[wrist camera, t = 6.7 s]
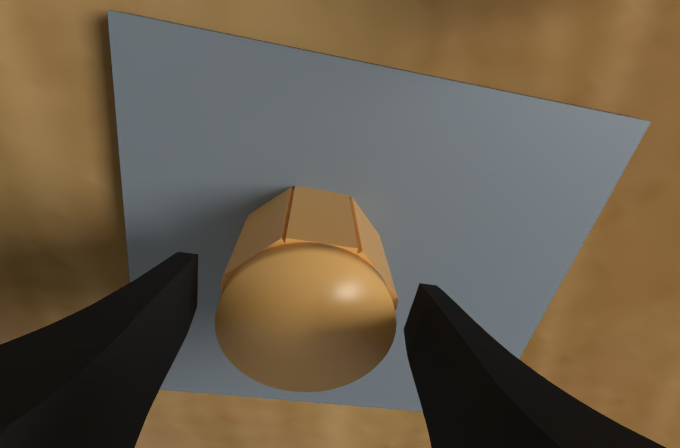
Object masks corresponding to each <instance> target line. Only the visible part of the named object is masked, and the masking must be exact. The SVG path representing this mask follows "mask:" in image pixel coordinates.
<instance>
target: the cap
mask: <svg viewBox="0 0 680 448" xmlns="http://www.w3.org/2000/svg"><path fill="white" fill-rule="evenodd" d="M398 302H399V301H398V296H397V293H396V289H395V286H394V282H393V279H392V276H391V272H390V269H389V266H388V262H387V259H386V256H385V252H384V249H383V246H382V242H381V239H380V236H379V234H378V233H377V231H376V230H375V228H374V227H373V226H372V224H371V223H370V221H369V220H368V219H367V217H366V216H365V214H364V213H363V212H362V210H361V209H360V207H359V206H358V205H357V203H356V202H355V200H354V199H353V198H352V197H350V198H349V195H348V194H342V193H336V192H330V191H324V190H318V189H312V188H306V187H300V186H295V189H293V188H292V187H290V188H288V189H287V190H285V191H284V192H282V193H281V194H279V195H278V196H276V197H275V198H273V199H272V200H270V201H269V202H267V203H266V204H264V205H263V206H261V207H260V208H258V209H257V210H255V211H254V212H252V213H251V214H249V215H248V218H247V219H246V221H245V223H244V226H243V228H242V231H241V233H240V235H239V238H238V240H237V243H236V245H235V248H234V250H233V252H232V255H231V257H230V260H229V262H228V264H227V267H226V269H225V272H224V274H223V276H222V281H221V297H220V300H219V303H218V306H217V309H216V314H215V332H216V337H217V340H218V343H219V346H220V348H221V349H222V351H223V353H224V355H225V356H226V357H227V359H228V360H229V361H230V362H231V363H232V364H233V365H234V366H235V367H236V368H237V369H238V370H239V371H241V372H242V373H243V374H245V375H246V376H248V377H249V378H251V379H253V380H255V381H257V382H259V383H261V384H263V385H266V386H269V387H272V388H276V389H280V390H285V391H292V392H319V391H326V390H331V389H335V388H339V387H342V386H345V385H347V384H350V383H352V382H354V381H356V380H358V379H360V378H362V377H363V376H365V375H366V374H368V373H369V372H370V371H372V370H373V369H374V368H375V367H376V366H377V365H378V364H379V363H380V362H381V361H382V360H383V359H384V357H385V356H386V355H387V353H388V351H389V350H390V348H391V346H392V343H393V341H394V337H395V334H396V325H397V321H396V312H395V311H396V308H397V305H398Z"/></svg>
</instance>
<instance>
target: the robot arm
mask: <svg viewBox="0 0 680 448" xmlns="http://www.w3.org/2000/svg"><path fill="white" fill-rule="evenodd" d="M197 297H198V254H192V253H185V252H177V253H175V254H173V255H172V256H170V257H169V258H167V259H166V260H164V261H163V262H161V263H160V264H158V265H157V266H155V267H154V268H152V269H151V270H149V271H148V272H146V273H145V274H143V275H141V276H140V277H138V278H137V279H135V280H134V281H132V282H131V283H129V284H127V285H126V286H124V287H122V288H120V289H119V290H117V291H115V292H113V293H112V294H110V295H108V296H106V297H105V298H103V299H101V300H99V301H98V302H96V303H94V304H92V305H90V306H88V307H86V308H84V309H82V310H80V311H79V312H76V313H74V314H72V315H70V316H68V317H66V318H64V319H62V320H59V321H57V322H55V323H53V324H51V325H48V326H46V327H43V328H41V329H38V330H36V331H34V332H31V333H29V334H26V335H24V336H21V337H19V338H16V339H14V340H11V341H9V342H6V343H4V344H1V345H0V448H134V447H135V445H136V442H137V439H138V437H139V434H140V432H141V429H142V427H143V424H144V422H145V419H146V417H147V414H148V412H149V410H150V408H151V406H152V403H153V401H154V399H155V397H156V395H157V393H158V391H159V389H160V387H161V385H162V383H163V381H164V380H165V378H166V376H167V374H168V372H169V370H170V368H171V366H172V364H173V362H174V360H175V358H176V356H177V354H178V352H179V350H180V348H181V346H182V344H183V342H184V340H185V338H186V336H187V334H188V331H189V328H190V326H191V323H192V320H193V317H194V314H195V311H196V309H197ZM403 330H404V337H405V345H406V351H407V357H408V361H409V365H410V368H411V372H412V375H413V379H414V382H415V386H416V389H417V393H418V396H419V400H420V403H421V407H422V410H423V413H424V417H425V420H426V424H427V428H428V432H429V436H430V442H431V447H432V448H666V447H664V446H662V445H660V444H658V443H656V442H654V441H652V440H650V439H648V438H646V437H644V436H642V435H640V434H638V433H636V432H634V431H632V430H630V429H628V428H626V427H624V426H622V425H620V424H618V423H617V422H615V421H613V420H611V419H610V418H608V417H606V416H604V415H602V414H601V413H599V412H597V411H595V410H594V409H592V408H590V407H589V406H587V405H585V404H584V403H582V402H580V401H579V400H577V399H575V398H574V397H572V396H571V395H569V394H568V393H566V392H565V391H563V390H562V389H560V388H558V387H557V386H555V385H554V384H552V383H551V382H549V381H548V380H546V379H545V378H544V377H542V376H541V375H539V374H538V373H537V372H535V371H534V370H533V369H531V368H530V367H529V366H527V365H526V364H525V363H523V362H522V361H521V360H519V359H518V358H517V357H515V356H514V355H513V354H512V353H510V352H509V351H508V350H507V349H506V348H504V347H503V346H502V345H501V344H500V343H499V342H497V341H496V340H495V339H494V338H493V337H492V336H491V335H489V334H488V333H487V332H486V331H485V330H484V329H483V328H482V327H481V326H480V325H478V324H477V323H476V322H475V321H474V320H473V319H472V318H471V317H470V316H469V315H468V314H467V313H466V312H465V311H464V310H463V309H462V308H461V307H460V306H459V305H458V304H457V303H456V302H455V301H453V300H452V299H451V298H450V297H449V296H448V295H447V294H446V293H445V292H444V291H443V290H442V289H441V288H439V287H438V286H437V285H430V284H423V283H419V286H418V289H417V292H416V295H415V298H414V300H413V303H412V306H411V309H410V312H409V315H408V318H407V321H406V324H405V326H404V329H403Z"/></svg>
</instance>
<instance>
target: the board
mask: <svg viewBox="0 0 680 448" xmlns="http://www.w3.org/2000/svg"><path fill="white" fill-rule="evenodd" d="M107 14H108V26H109V38H110V50H111V62H112V74H113V86H114V98H115V110H116V122H117V134H118V146H119V158H120V170H121V182H122V194H123V206H124V218H125V230H126V242H127V254H128V266H129V278H130V283H131V282H132V281H134V280H135V279H137V278H138V277H140V276H141V275H143V274H145V273H146V272H148V271H149V270H151V269H152V268H154V267H155V266H157V265H158V264H160V263H161V262H163V261H164V260H166V259H167V258H169V257H170V256H172V255H173V254H175V253H177V252H185V253H192V254H198V297H197V309H196V311H195V314H194V317H193V320H192V323H191V326H190V328H189V331H188V334H187V336H186V338H185V340H184V342H183V344H182V346H181V348H180V350H179V352H178V354H177V356H176V358H175V360H174V362H173V364H172V366H171V368H170V370H169V372H168V374H167V376H166V378H165V380H164V381H163V383H162V385H161V387H160V390H172V391H184V392H196V393H207V394H219V395H231V396H243V397H255V398H267V399H279V400H291V401H303V402H314V403H326V404H338V405H350V406H362V407H374V408H386V409H398V410H410V411H421V412H423V410H422V407H421V403H420V400H419V396H418V393H417V389H416V386H415V382H414V379H413V375H412V372H411V368H410V365H409V361H408V357H407V351H406V345H405V337H404V330H403V329H404V326H405V324H406V321H407V318H408V315H409V312H410V309H411V306H412V303H413V300H414V298H415V295H416V292H417V289H418V286H419V283H423V284H430V285H437V286H438V287H439V288H441V289H442V290H443V291H444V292H445V293H446V294H447V295H448V296H449V297H450V298H451V299H452V300H453V301H455V302H456V303H457V304H458V305H459V306H460V307H461V308H462V309H463V310H464V311H465V312H466V313H467V314H468V315H469V316H470V317H471V318H472V319H473V320H474V321H475V322H476V323H477V324H478V325H480V326H481V327H482V328H483V329H484V330H485V331H486V332H487V333H488V334H489V335H491V336H492V337H493V338H494V339H495V340H496V341H497V342H499V343H500V344H501V345H502V346H503V347H504V348H506V349H507V350H508V351H509V352H510V353H512V354H513V355H514V356H515V357H517V358H518V359H519V358H520V356H521V354H522V352H523V351H524V349H525V347H526V345H527V343H528V342H529V340H530V338H531V336H532V334H533V333H534V331H535V329H536V327H537V326H538V324H539V322H540V320H541V318H542V317H543V315H544V313H545V311H546V309H547V308H548V306H549V304H550V302H551V300H552V299H553V297H554V295H555V293H556V291H557V290H558V288H559V286H560V284H561V282H562V281H563V279H564V277H565V275H566V273H567V272H568V270H569V268H570V266H571V265H572V263H573V261H574V259H575V257H576V256H577V254H578V252H579V250H580V248H581V247H582V245H583V243H584V241H585V239H586V238H587V236H588V234H589V232H590V230H591V229H592V227H593V225H594V223H595V221H596V220H597V218H598V216H599V214H600V212H601V211H602V209H603V207H604V205H605V204H606V202H607V200H608V198H609V196H610V195H611V193H612V191H613V189H614V187H615V186H616V184H617V182H618V180H619V178H620V177H621V175H622V173H623V171H624V169H625V168H626V166H627V164H628V162H629V160H630V159H631V157H632V155H633V153H634V151H635V150H636V148H637V146H638V144H639V143H640V141H641V139H642V137H643V135H644V134H645V132H646V130H647V128H648V126H649V125H650V123H651V122H650V121H646V120H642V119H638V118H634V117H630V116H625V115H621V114H616V113H611V112H606V111H601V110H596V109H591V108H586V107H582V106H577V105H572V104H567V103H562V102H557V101H552V100H548V99H543V98H538V97H533V96H528V95H523V94H518V93H514V92H509V91H504V90H499V89H494V88H489V87H484V86H480V85H475V84H470V83H465V82H460V81H455V80H450V79H446V78H441V77H436V76H431V75H426V74H421V73H416V72H412V71H407V70H402V69H397V68H392V67H387V66H382V65H378V64H373V63H368V62H363V61H358V60H353V59H348V58H344V57H339V56H334V55H329V54H324V53H319V52H314V51H309V50H305V49H300V48H295V47H290V46H285V45H280V44H275V43H271V42H266V41H261V40H256V39H251V38H246V37H241V36H237V35H232V34H227V33H222V32H217V31H212V30H207V29H203V28H198V27H193V26H188V25H183V24H178V23H173V22H169V21H164V20H159V19H154V18H149V17H144V16H139V15H135V14H130V13H125V12H118V11H111V10H107ZM295 186H300V187H306V188H312V189H318V190H324V191H330V192H336V193H342V194H348V195H349V198H350V197H352V198H353V199H354V200H355V202H356V203H357V205H358V206H359V207H360V209H361V210H362V212H363V213H364V214H365V216H366V217H367V219H368V220H369V221H370V223H371V224H372V226H373V227H374V228H375V230H376V231H377V233H378V234H379V236H380V239H381V242H382V246H383V249H384V252H385V256H386V259H387V262H388V266H389V269H390V272H391V276H392V279H393V282H394V286H395V289H396V293H397V296H398V301H399V302H398V305H397V308H396V311H395V312H396V321H397V325H396V334H395V337H394V341H393V343H392V346H391V348H390V350H389V351H388V353H387V355H386V356H385V357H384V359H383V360H382V361H381V362H380V363H379V364H378V365H377V366H376V367H375V368H374V369H373V370H372V371H370V372H369V373H368V374H366V375H365V376H363V377H362V378H360V379H358V380H356V381H354V382H352V383H350V384H347V385H345V386H342V387H339V388H335V389H331V390H326V391H319V392H292V391H285V390H280V389H276V388H272V387H269V386H266V385H263V384H261V383H259V382H257V381H255V380H253V379H251V378H249V377H248V376H246V375H245V374H243V373H242V372H241V371H239V370H238V369H237V368H236V367H235V366H234V365H233V364H232V363H231V362H230V361H229V360H228V359H227V357H226V356H225V355H224V353H223V351H222V349H221V348H220V346H219V343H218V340H217V337H216V332H215V314H216V309H217V306H218V303H219V300H220V297H221V281H222V276H223V274H224V272H225V269H226V267H227V264H228V262H229V260H230V257H231V255H232V252H233V250H234V248H235V245H236V243H237V240H238V238H239V235H240V233H241V231H242V228H243V226H244V223H245V221H246V219H247V218H248V215H249V214H251V213H252V212H254V211H255V210H257V209H258V208H260V207H261V206H263V205H264V204H266V203H267V202H269V201H270V200H272V199H273V198H275V197H276V196H278V195H279V194H281V193H282V192H284V191H285V190H287V189H288V188H290V187H292V188H293V189H295Z"/></svg>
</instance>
